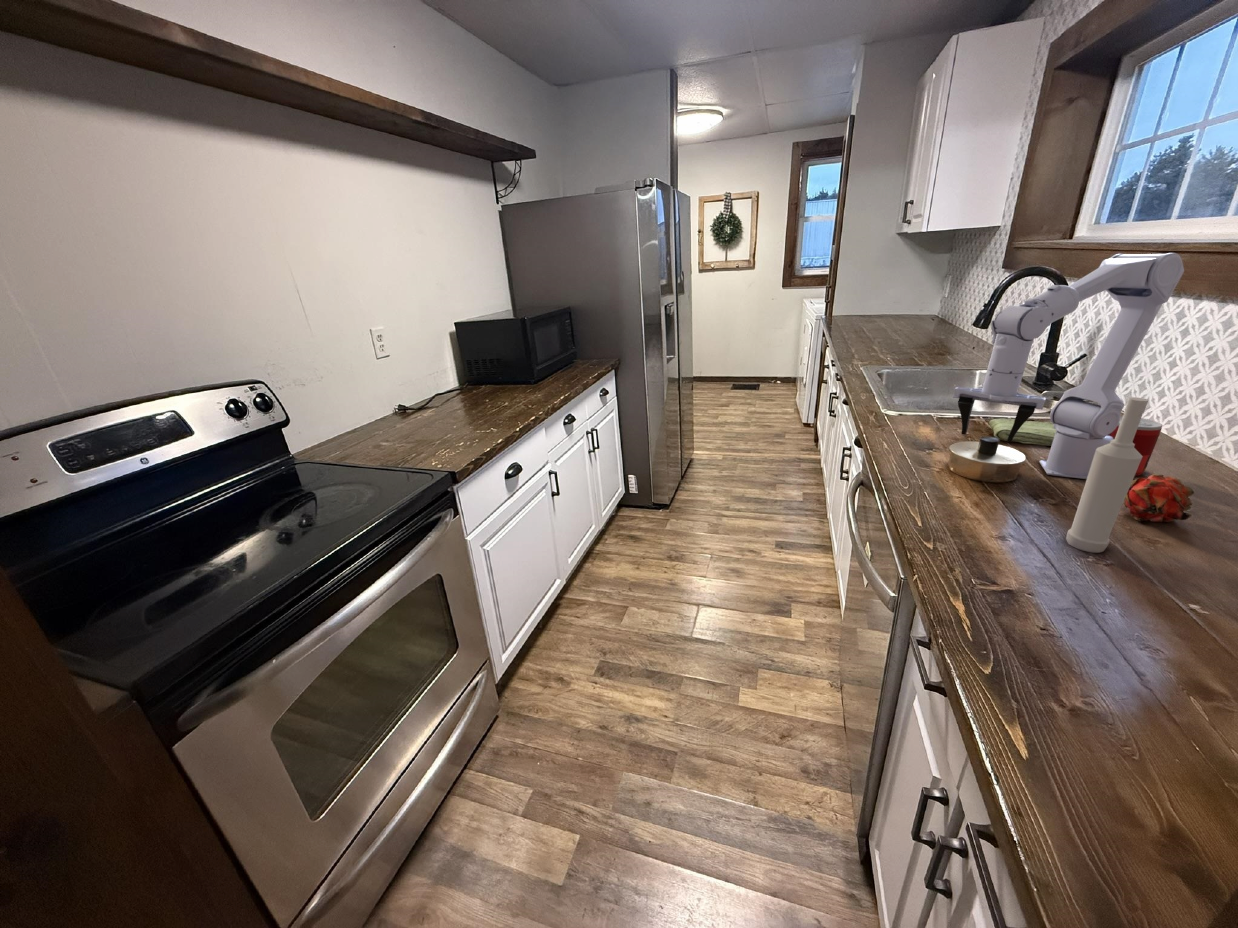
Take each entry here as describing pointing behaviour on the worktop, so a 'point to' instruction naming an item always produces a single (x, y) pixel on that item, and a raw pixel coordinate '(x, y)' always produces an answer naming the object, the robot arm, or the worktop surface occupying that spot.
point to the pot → (983, 471)
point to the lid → (987, 452)
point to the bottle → (1107, 484)
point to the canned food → (1143, 440)
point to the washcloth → (1024, 431)
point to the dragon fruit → (1158, 499)
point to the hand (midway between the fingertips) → (986, 437)
